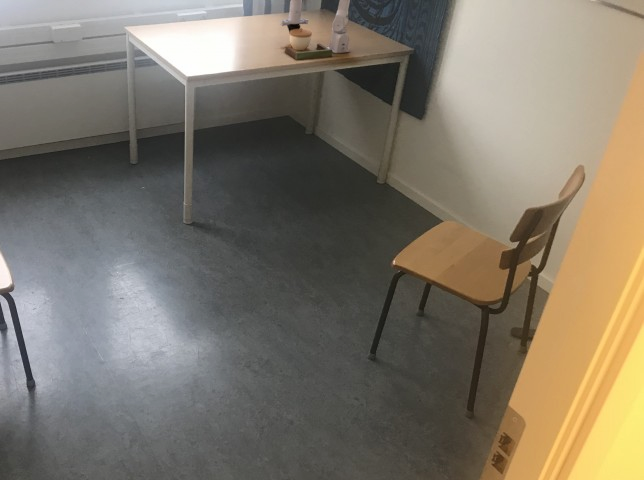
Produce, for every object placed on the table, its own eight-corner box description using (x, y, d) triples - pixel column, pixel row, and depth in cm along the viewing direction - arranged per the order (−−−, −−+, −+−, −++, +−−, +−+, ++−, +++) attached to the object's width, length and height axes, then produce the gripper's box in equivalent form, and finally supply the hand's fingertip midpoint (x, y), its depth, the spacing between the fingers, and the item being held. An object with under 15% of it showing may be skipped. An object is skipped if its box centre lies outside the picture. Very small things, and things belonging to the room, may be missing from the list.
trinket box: (295, 43, 352) (297, 24, 346) (313, 48, 347) (316, 28, 341) (283, 48, 346) (285, 28, 340) (302, 53, 341) (304, 33, 335)
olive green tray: (331, 56, 338) (332, 49, 336) (296, 59, 332) (297, 53, 330) (319, 48, 347) (319, 42, 345) (284, 52, 341) (285, 45, 340)
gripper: (304, 7, 347) (301, 36, 356) (278, 9, 343) (275, 38, 352) (311, 11, 342) (307, 40, 351) (284, 13, 338) (281, 42, 347)
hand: (292, 39), depth 351 cm, fingers closed, pressing on trinket box
